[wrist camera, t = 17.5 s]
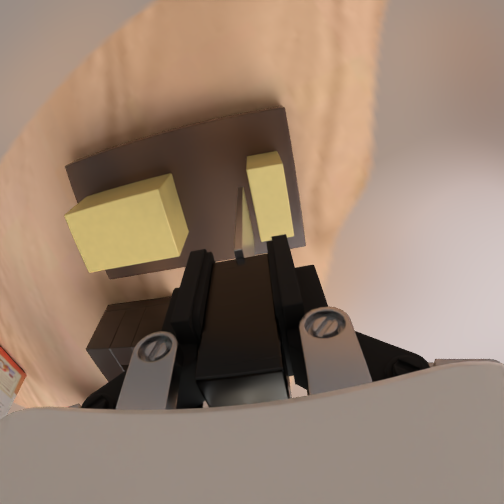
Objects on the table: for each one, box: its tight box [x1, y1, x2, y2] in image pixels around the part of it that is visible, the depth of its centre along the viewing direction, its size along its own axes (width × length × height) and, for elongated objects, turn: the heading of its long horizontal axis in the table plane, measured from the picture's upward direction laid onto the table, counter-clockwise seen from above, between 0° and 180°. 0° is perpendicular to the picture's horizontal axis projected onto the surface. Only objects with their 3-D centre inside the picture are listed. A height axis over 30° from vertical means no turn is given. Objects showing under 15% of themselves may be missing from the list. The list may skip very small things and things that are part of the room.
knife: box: [194, 186, 292, 408], centre depth 12 cm, size 2×3×12 cm, turn 11°
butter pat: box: [246, 151, 294, 242], centre depth 19 cm, size 2×4×4 cm, turn 11°
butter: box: [64, 173, 189, 273], centre depth 20 cm, size 7×4×4 cm, turn 101°
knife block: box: [86, 297, 171, 382], centre depth 27 cm, size 7×9×6 cm
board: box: [65, 106, 306, 279], centre depth 22 cm, size 16×10×2 cm, turn 101°
